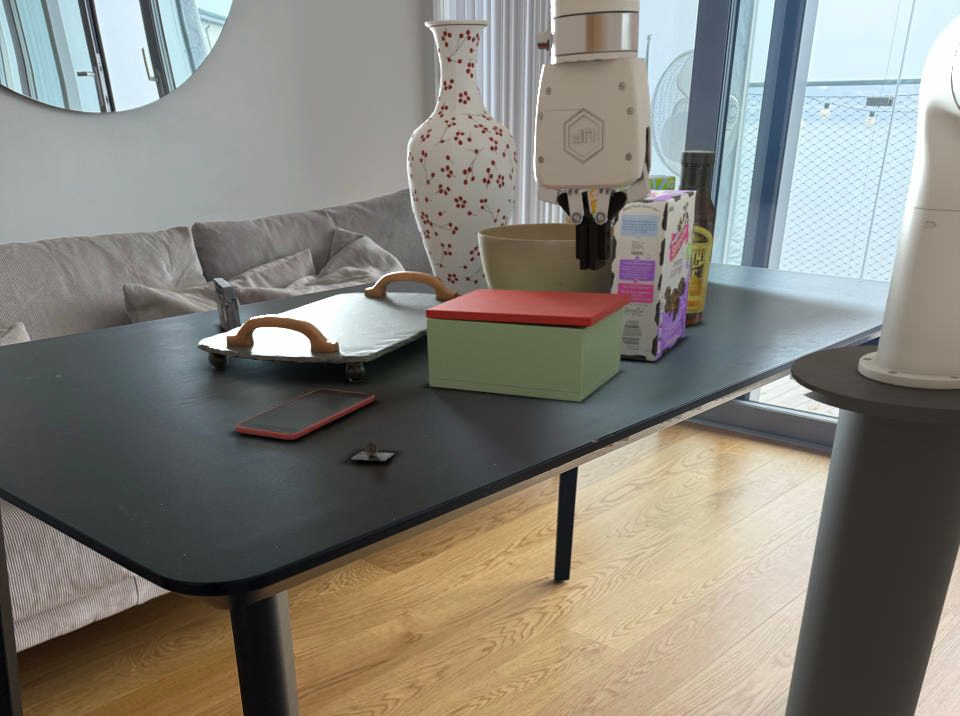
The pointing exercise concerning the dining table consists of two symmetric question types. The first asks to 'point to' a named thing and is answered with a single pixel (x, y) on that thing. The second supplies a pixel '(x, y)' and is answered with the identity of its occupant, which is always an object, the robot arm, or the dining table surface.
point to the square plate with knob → (372, 454)
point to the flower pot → (539, 259)
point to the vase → (460, 164)
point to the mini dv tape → (226, 304)
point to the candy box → (653, 270)
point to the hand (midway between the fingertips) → (592, 267)
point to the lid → (531, 307)
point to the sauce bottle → (698, 227)
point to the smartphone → (304, 414)
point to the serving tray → (335, 328)
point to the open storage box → (524, 356)
